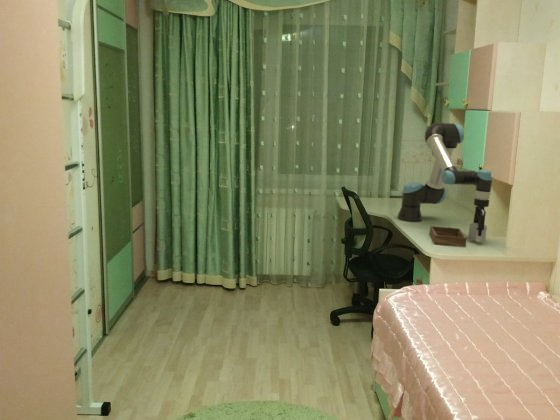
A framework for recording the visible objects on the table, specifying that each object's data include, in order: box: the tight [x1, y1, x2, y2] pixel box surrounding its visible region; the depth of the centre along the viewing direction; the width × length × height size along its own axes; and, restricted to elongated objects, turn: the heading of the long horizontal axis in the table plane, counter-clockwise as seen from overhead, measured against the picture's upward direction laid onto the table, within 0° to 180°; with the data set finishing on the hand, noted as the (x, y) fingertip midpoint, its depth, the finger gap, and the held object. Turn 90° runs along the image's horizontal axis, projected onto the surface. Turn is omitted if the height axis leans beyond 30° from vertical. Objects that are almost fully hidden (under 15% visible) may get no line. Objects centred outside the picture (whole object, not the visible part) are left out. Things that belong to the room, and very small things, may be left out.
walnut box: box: [429, 226, 468, 248], centre depth 292 cm, size 22×16×5 cm
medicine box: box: [468, 222, 488, 243], centre depth 291 cm, size 8×4×9 cm, turn 35°
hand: (476, 239), depth 292 cm, fingers closed on medicine box, 8 cm apart
